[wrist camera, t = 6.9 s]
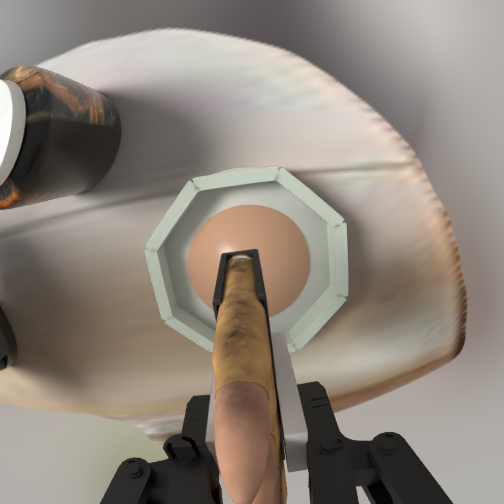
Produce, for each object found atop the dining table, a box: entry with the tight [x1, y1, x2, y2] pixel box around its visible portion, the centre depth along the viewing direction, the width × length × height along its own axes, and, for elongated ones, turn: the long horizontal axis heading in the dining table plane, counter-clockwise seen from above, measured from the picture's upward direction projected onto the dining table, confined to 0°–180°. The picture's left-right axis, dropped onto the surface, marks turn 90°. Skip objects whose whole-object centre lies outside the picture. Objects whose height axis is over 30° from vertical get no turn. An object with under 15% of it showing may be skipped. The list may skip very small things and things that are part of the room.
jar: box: [0, 65, 121, 210], centre depth 19 cm, size 12×12×15 cm
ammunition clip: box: [212, 249, 287, 504], centre depth 10 cm, size 11×2×12 cm, turn 7°
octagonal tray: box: [144, 166, 348, 353], centre depth 28 cm, size 19×19×4 cm
